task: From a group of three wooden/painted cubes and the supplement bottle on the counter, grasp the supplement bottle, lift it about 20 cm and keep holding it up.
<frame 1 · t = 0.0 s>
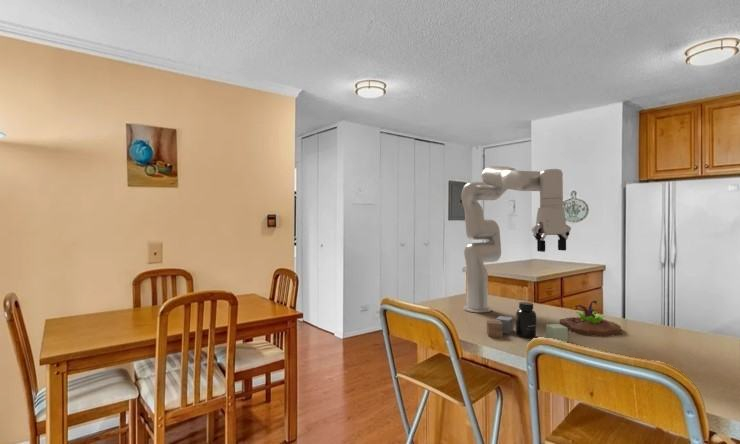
hand: (551, 250, 141), 31 cm above the breakfast bar, tool pointing down, fingers open, 9 cm apart
supplement bottle: (526, 336, 143), on the breakfast bar
sage cube: (556, 340, 138), on the breakfast bar
plant: (591, 330, 151), on the breakfast bar
walnut cube: (494, 334, 145), on the breakfast bar
slate cube: (504, 331, 149), on the breakfast bar
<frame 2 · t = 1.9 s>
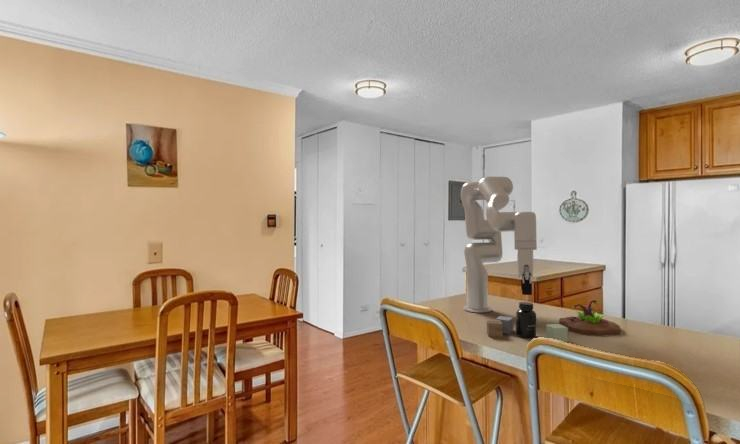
hand: (526, 292, 142), 16 cm above the breakfast bar, tool pointing down, fingers open, 9 cm apart
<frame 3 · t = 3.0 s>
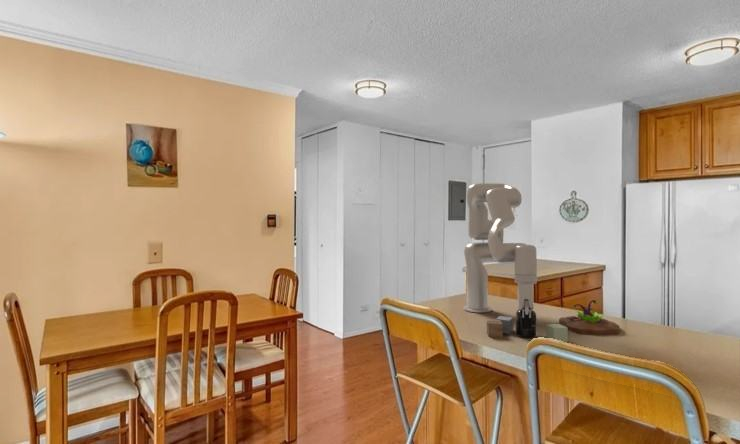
hand: (526, 325, 143), 4 cm above the breakfast bar, tool pointing down, fingers open, 9 cm apart
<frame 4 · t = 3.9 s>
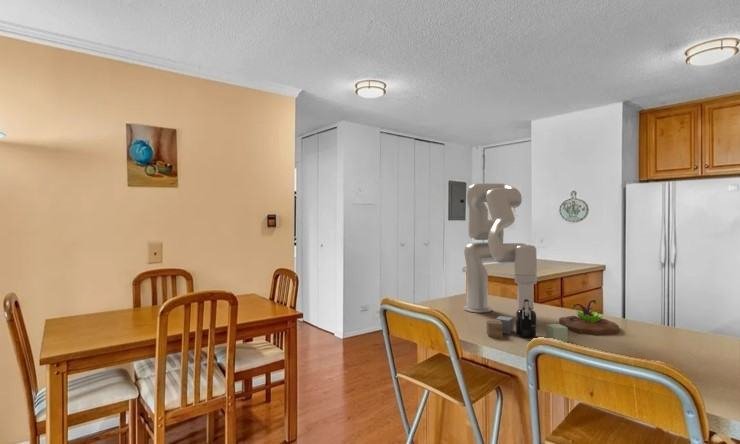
hand: (526, 326, 143), 3 cm above the breakfast bar, tool pointing down, fingers closed on supplement bottle, 6 cm apart
supplement bottle: (526, 336, 143), on the breakfast bar, touching gripper
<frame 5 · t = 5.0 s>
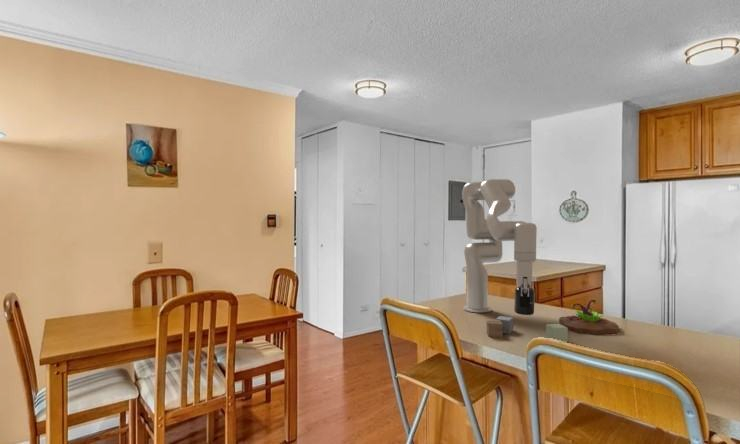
hand: (524, 304, 144), 11 cm above the breakfast bar, tool pointing down, fingers closed on supplement bottle, 6 cm apart
supplement bottle: (524, 313, 144), point 8 cm above the breakfast bar, touching gripper
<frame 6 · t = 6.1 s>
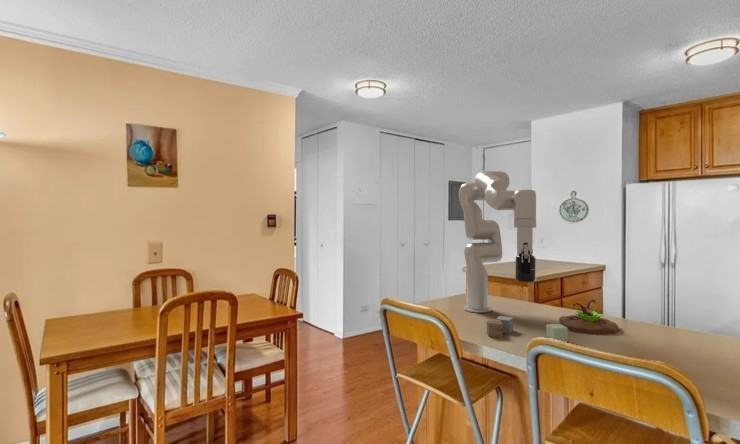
hand: (525, 271, 143), 23 cm above the breakfast bar, tool pointing down, fingers closed on supplement bottle, 6 cm apart
supplement bottle: (525, 281, 143), point 20 cm above the breakfast bar, touching gripper
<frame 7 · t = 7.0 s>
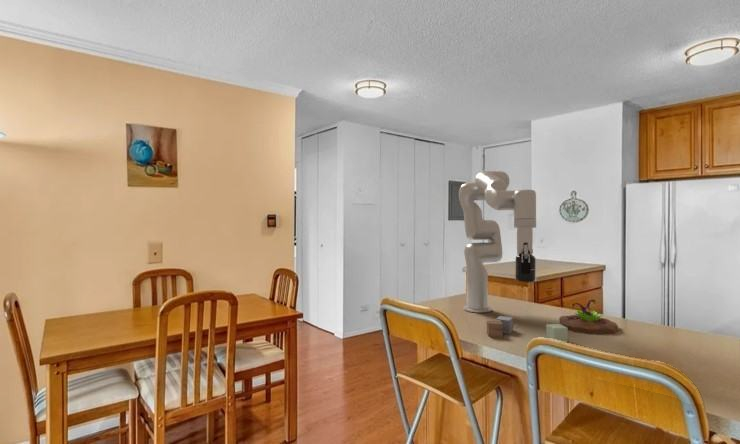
hand: (525, 271, 143), 23 cm above the breakfast bar, tool pointing down, fingers closed on supplement bottle, 6 cm apart
supplement bottle: (525, 281, 143), point 20 cm above the breakfast bar, touching gripper
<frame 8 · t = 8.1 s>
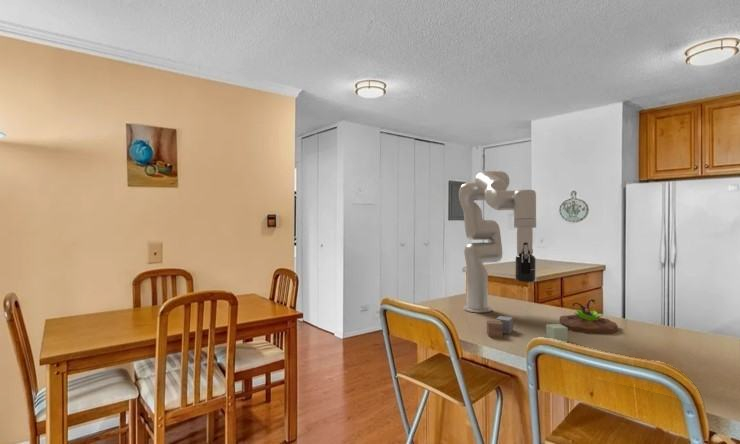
hand: (525, 271, 143), 23 cm above the breakfast bar, tool pointing down, fingers closed on supplement bottle, 6 cm apart
supplement bottle: (525, 281, 143), point 20 cm above the breakfast bar, touching gripper
at the end: the gripper is holding supplement bottle; supplement bottle point 20.0 cm above the breakfast bar; slate cube moved 0.1 cm from its start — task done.
